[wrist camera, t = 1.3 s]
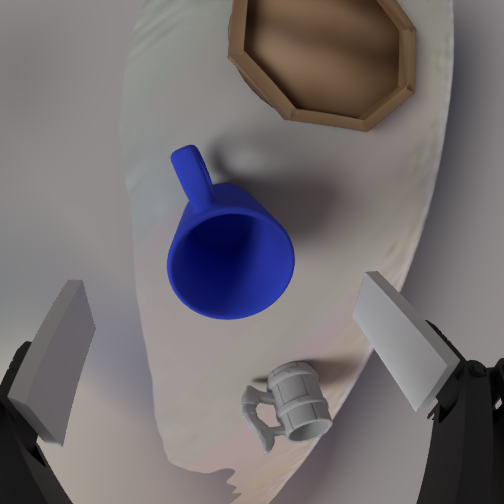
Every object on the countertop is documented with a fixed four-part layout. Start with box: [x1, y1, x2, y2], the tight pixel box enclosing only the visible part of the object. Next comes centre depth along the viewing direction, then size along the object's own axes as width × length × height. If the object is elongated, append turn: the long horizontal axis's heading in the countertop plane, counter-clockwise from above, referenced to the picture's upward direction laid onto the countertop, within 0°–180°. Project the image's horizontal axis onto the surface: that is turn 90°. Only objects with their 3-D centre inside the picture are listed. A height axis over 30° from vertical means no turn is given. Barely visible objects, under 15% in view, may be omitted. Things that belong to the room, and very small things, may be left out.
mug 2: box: [241, 362, 333, 454], centre depth 34 cm, size 8×12×12 cm, turn 84°
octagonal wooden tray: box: [228, 0, 416, 132], centre depth 19 cm, size 17×17×4 cm
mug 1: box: [167, 145, 295, 320], centre depth 22 cm, size 8×12×10 cm
